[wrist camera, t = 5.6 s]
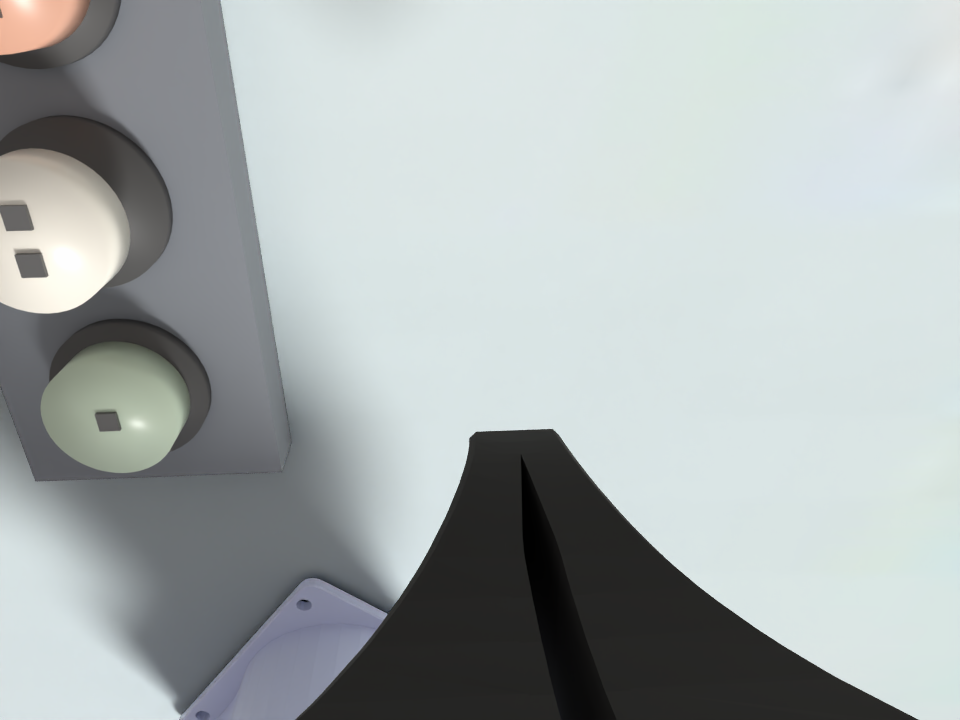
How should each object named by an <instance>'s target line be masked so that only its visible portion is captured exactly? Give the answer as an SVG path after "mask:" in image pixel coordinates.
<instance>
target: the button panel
mask: <svg viewBox="0 0 960 720" xmlns="http://www.w3.org/2000/svg"><path fill="white" fill-rule="evenodd" d="M29 148H35V149H46V150H52V151H56V152H59V153H63V154H65V155H68V156H70V157H72V158H74V159H76V160H78V161H80V162H82V163H84V164H85V165H87V166H88V167H89V168H91V169H92V170H94V171H95V172H96V173H97V174H98V175H99V176H101V177H102V178H103V179H104V180H105V181H106V183H107V184H108V185H109V186H110V187H111V188H112V190H113V191H114V192H115V194H116V195H117V197H118V199H119V200H120V202H121V204H122V206H123V208H124V210H125V213H126V216H127V219H128V223H129V228H130V247H129V252H128V255H127V258H126V260H125V263H124V265H123V266H122V268H121V269H120V271H119V272H118V273H117V274H116V275H115V276H114V277H113V278H112V279H111V280H110V281H109V282H108V283H107V284H105V285H104V286H103V287H102V288H101V289H100V290H99V291H98V292H97V293H96V294H95V295H93V296H92V297H91V298H90V299H89V300H87V301H86V302H85V303H83V304H81V305H80V306H78V307H76V308H73V309H70V310H68V311H63V312H59V313H49V314H48V313H33V312H27V311H23V310H19V309H15V308H13V307H10V306H7V305H5V304H3V303H1V302H0V387H1V389H2V392H3V395H4V397H5V400H6V403H7V406H8V408H9V411H10V414H11V416H12V419H13V422H14V424H15V427H16V430H17V433H18V435H19V438H20V441H21V443H22V446H23V449H24V451H25V454H26V457H27V459H28V462H29V465H30V468H31V470H32V473H33V476H34V478H35V481H57V480H83V479H110V478H136V477H162V476H189V475H215V474H242V473H268V472H282V471H283V467H284V464H285V461H286V458H287V455H288V452H289V449H290V446H291V436H290V430H289V424H288V418H287V412H286V405H285V399H284V393H283V387H282V381H281V374H280V368H279V362H278V356H277V350H276V343H275V337H274V331H273V325H272V319H271V312H270V306H269V300H268V294H267V288H266V282H265V275H264V269H263V263H262V257H261V251H260V244H259V238H258V232H257V226H256V220H255V213H254V207H253V201H252V195H251V189H250V182H249V176H248V170H247V164H246V158H245V151H244V145H243V139H242V133H241V127H240V120H239V114H238V108H237V102H236V96H235V90H234V83H233V77H232V71H231V65H230V59H229V52H228V46H227V40H226V34H225V28H224V21H223V15H222V9H221V3H220V0H90V4H89V8H88V10H87V13H86V16H85V17H84V19H83V21H82V23H81V24H80V26H79V27H78V28H77V29H76V31H75V32H74V33H72V34H71V35H70V36H69V37H68V38H66V39H65V40H63V41H62V42H60V43H58V44H55V45H53V46H50V47H46V48H42V49H37V50H31V51H26V52H20V53H14V54H6V55H0V156H2V155H4V154H7V153H9V152H12V151H16V150H20V149H29ZM111 341H117V342H127V343H132V344H136V345H140V346H143V347H145V348H148V349H150V350H152V351H154V352H156V353H157V354H159V355H160V356H162V357H163V358H165V359H166V360H167V361H168V362H170V363H171V364H172V365H173V366H174V367H175V368H176V370H177V371H178V372H179V373H180V375H181V376H182V378H183V379H184V381H185V383H186V386H187V388H188V391H189V395H190V412H189V416H188V419H187V421H186V423H185V425H184V426H183V428H182V430H181V432H180V433H179V435H178V437H177V439H176V440H175V442H174V444H173V446H172V447H171V449H170V451H169V452H168V453H167V455H166V456H165V457H164V458H163V459H162V460H161V461H159V462H158V463H157V464H155V465H153V466H151V467H149V468H147V469H144V470H141V471H136V472H130V473H113V472H106V471H101V470H97V469H94V468H91V467H89V466H86V465H84V464H82V463H80V462H78V461H76V460H75V459H73V458H72V457H70V456H69V455H67V454H66V453H65V452H64V451H63V450H61V449H60V448H59V447H58V446H57V445H56V444H55V442H54V441H53V440H52V438H51V437H50V436H49V434H48V432H47V430H46V428H45V426H44V424H43V420H42V417H41V399H42V395H43V393H44V390H45V388H46V387H47V385H48V384H49V382H50V381H51V380H52V379H53V378H54V377H55V376H56V375H57V374H58V373H59V372H60V371H61V370H62V369H63V368H64V367H65V366H66V365H67V364H68V363H69V362H70V361H71V360H72V358H73V357H74V356H75V355H76V354H78V353H79V352H80V351H82V350H83V349H85V348H87V347H89V346H92V345H94V344H98V343H102V342H111Z"/></svg>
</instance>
